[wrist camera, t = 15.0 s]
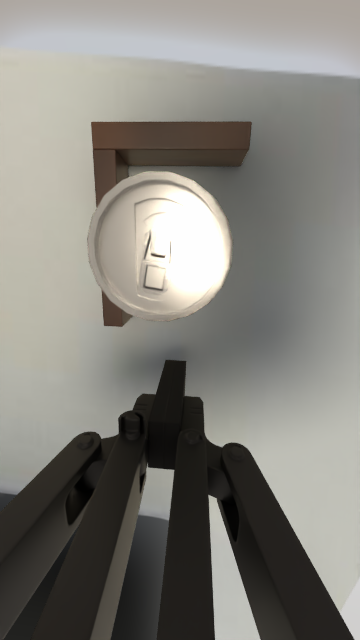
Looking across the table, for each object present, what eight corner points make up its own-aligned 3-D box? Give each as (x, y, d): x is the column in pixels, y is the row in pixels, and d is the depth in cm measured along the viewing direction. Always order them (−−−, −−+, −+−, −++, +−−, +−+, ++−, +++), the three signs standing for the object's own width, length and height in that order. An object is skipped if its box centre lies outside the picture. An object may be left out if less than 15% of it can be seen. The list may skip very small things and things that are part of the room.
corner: (242, 143, 17) (252, 120, 14) (227, 321, 21) (232, 332, 18) (107, 142, 18) (90, 121, 15) (116, 316, 21) (103, 326, 19)
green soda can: (205, 290, 20) (217, 340, 9) (144, 278, 20) (76, 312, 9) (220, 224, 19) (257, 179, 7) (153, 211, 19) (86, 147, 7)
